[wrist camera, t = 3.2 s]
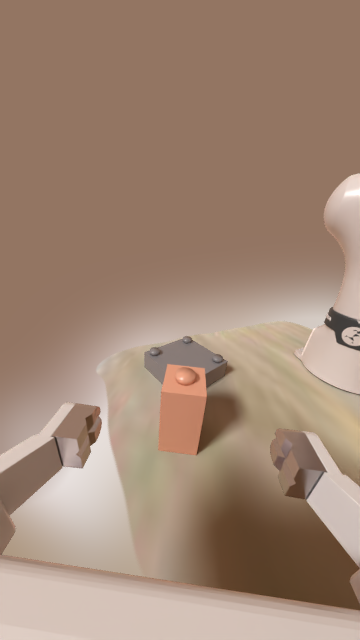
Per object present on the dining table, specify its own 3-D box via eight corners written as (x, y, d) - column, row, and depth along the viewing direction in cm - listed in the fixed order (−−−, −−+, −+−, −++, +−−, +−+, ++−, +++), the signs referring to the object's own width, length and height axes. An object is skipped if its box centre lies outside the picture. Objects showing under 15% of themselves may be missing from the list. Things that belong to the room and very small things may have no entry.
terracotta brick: (164, 417, 29) (167, 359, 25) (196, 421, 29) (205, 363, 25) (158, 450, 25) (161, 385, 20) (196, 455, 24) (207, 391, 20)
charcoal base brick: (185, 351, 48) (187, 334, 46) (224, 377, 40) (228, 358, 38) (144, 368, 40) (144, 348, 38) (181, 404, 32) (183, 382, 30)
